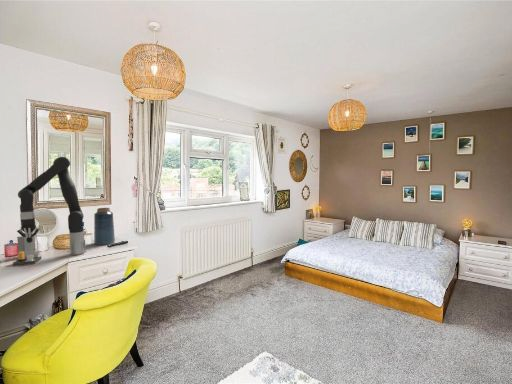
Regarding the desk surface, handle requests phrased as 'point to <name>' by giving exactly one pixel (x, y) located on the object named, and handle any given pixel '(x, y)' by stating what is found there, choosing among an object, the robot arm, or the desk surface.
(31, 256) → the panel
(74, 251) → the robot arm
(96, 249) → the desk surface
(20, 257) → the orange rectangular block
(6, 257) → the desk surface
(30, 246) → the skincare box
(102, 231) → the blue lidded jar
